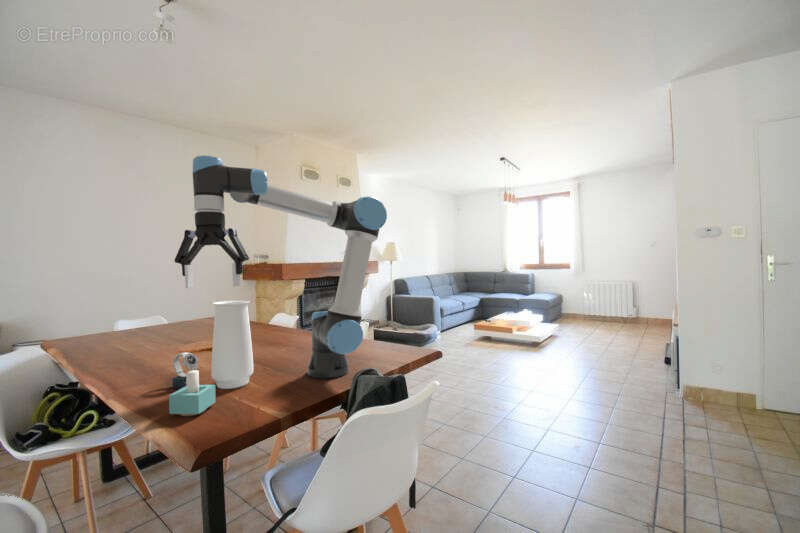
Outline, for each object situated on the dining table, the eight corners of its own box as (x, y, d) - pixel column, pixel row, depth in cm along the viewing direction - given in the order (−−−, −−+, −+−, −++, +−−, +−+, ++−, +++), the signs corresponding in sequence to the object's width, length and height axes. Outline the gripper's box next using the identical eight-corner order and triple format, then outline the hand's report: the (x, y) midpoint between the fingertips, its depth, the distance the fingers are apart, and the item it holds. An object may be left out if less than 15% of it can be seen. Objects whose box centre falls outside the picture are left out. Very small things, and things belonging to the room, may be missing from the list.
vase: (257, 376, 126) (255, 299, 126) (249, 388, 114) (247, 303, 113) (218, 379, 124) (216, 300, 123) (206, 392, 111) (204, 305, 111)
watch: (188, 389, 114) (187, 355, 114) (168, 387, 116) (167, 354, 116) (201, 383, 120) (201, 351, 120) (182, 381, 122) (182, 350, 122)
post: (211, 406, 100) (210, 368, 100) (197, 416, 93) (196, 375, 93) (189, 406, 100) (188, 368, 100) (174, 416, 93) (173, 375, 93)
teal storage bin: (215, 401, 100) (215, 384, 100) (198, 413, 92) (198, 395, 92) (188, 402, 101) (188, 384, 101) (169, 414, 93) (169, 395, 93)
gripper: (258, 212, 102) (262, 284, 103) (175, 215, 103) (179, 287, 103) (247, 208, 95) (250, 286, 95) (157, 212, 95) (161, 289, 96)
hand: (213, 287), depth 99 cm, fingers open, 13 cm apart
